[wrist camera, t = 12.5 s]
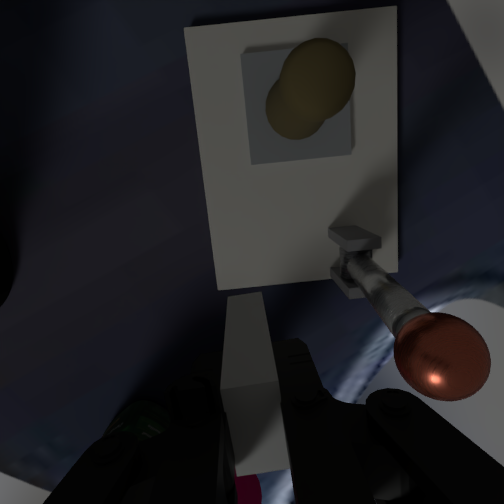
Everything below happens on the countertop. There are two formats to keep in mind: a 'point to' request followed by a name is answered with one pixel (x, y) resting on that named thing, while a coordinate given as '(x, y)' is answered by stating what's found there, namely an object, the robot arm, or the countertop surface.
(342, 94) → the cork
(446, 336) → the press lever
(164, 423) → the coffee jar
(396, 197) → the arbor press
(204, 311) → the countertop surface
